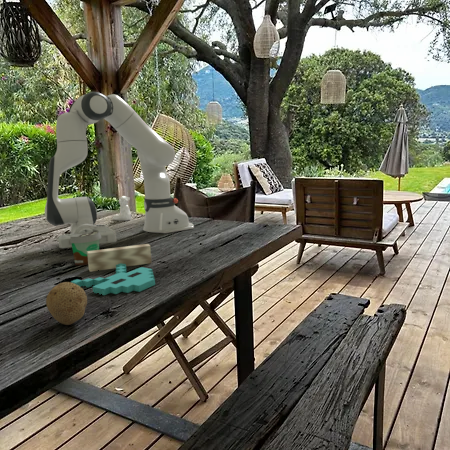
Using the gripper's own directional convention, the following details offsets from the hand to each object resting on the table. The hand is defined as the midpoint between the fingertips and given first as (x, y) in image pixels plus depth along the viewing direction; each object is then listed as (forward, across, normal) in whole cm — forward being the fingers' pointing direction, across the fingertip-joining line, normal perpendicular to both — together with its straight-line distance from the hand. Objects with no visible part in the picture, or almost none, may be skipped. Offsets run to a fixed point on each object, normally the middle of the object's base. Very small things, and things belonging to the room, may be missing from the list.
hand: (90, 243), depth 159 cm
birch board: (+15, +7, +5) cm, 17 cm away
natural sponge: (+55, -13, +5) cm, 56 cm away
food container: (+6, -1, +5) cm, 8 cm away
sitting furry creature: (-62, +25, +5) cm, 68 cm away
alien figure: (+32, +4, +6) cm, 32 cm away
